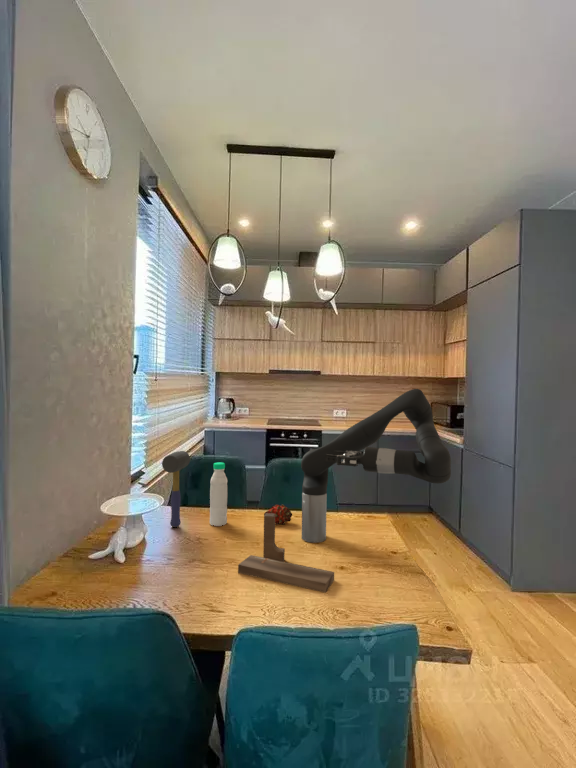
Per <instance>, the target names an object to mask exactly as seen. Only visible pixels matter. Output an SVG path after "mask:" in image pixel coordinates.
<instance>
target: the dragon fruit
mask: <svg viewBox="0 0 576 768" xmlns="http://www.w3.org/2000/svg"><path fill="white" fill-rule="evenodd" d="M266 513H274V514H275V526H278V525H285V524H286V523H287V522H291V521H292V517H293V513H292V511H291V510H290V508H288V507H287V506H286V505H284V503H283V504H282V503H281V505H279V504H274V505H273V506H271V508H269V509H267V511H265V512H264V514H263V516H264V515H265V514H266Z"/></svg>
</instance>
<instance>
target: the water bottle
mask: <svg viewBox="0 0 576 768" xmlns="http://www.w3.org/2000/svg"><path fill="white" fill-rule="evenodd" d="M212 465H213V474H212V476H211V478H210V488H209V499H210V500H209V504H210V505H209V506H210V507H209V524H210V525H211V526H213V525H214V526H213V527H221V526H222V525H223V526H225V525H226V524H227V522H228V515H227V514H228V506H227V505H228V477H227V476H226V473H225V468H226V463H225V462H223V461H221V462H219V461H218V462H214V463H213V464H212ZM223 526H222V527H223Z"/></svg>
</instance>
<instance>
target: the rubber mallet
mask: <svg viewBox="0 0 576 768" xmlns="http://www.w3.org/2000/svg"><path fill="white" fill-rule="evenodd" d="M190 462H191V456H190V454H189V453H188V452H187V451H185V450H179V451H174V452H172V453H170V454H168V455H166V456H165V457H164V458H163V459H162V462H161V467H162V469H163V470H164V471H165V472H166V473H170V474H171V473H172V491H171V498H170V509H171V513H170V514H171V518H170V521H169V524H170V527H171V526H172V527H177V528H179V527H180V525H181V509H180V508H181V502H182V500H181V499H182V498H181V491H180V471H181V470H183V469H185V468H186V467H188V465H189V464H190ZM178 526H179V527H178ZM172 527H171V528H172Z"/></svg>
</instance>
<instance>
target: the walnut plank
mask: <svg viewBox="0 0 576 768" xmlns="http://www.w3.org/2000/svg"><path fill="white" fill-rule="evenodd" d="M237 573H238V574H241V575H246V576H251V577H254V578H255V577H256V578H259V579H263V580H268V581H272V582H277V583H281V584H285V585H290V586H294V587H299V588H303V589H308V590H312V591H317V592H321V593H327V592H328V590H330V589H329V588H331V586H332V584H333V583H334V581H335V571H332V570H326V569H322V568H316V567H314V566H313V567H311V566H306V565H303V564H302V565H301V564H297V563H292V562H286V561H284V562H283V561H278V560H273V559H268V558H263V556H258V555H252V554H250V555H249V556H247V557H246V558H245V559H244V560H242V561H241V562H240V563H238V564H237Z"/></svg>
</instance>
